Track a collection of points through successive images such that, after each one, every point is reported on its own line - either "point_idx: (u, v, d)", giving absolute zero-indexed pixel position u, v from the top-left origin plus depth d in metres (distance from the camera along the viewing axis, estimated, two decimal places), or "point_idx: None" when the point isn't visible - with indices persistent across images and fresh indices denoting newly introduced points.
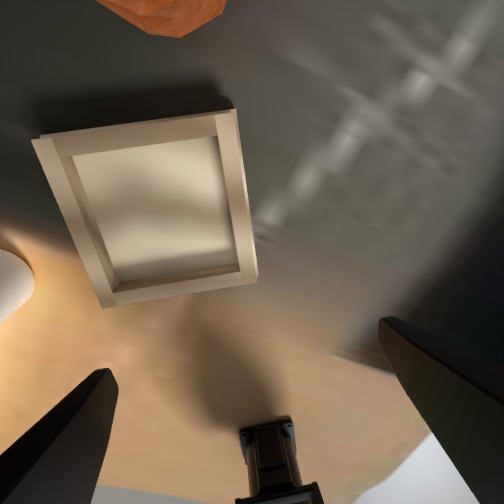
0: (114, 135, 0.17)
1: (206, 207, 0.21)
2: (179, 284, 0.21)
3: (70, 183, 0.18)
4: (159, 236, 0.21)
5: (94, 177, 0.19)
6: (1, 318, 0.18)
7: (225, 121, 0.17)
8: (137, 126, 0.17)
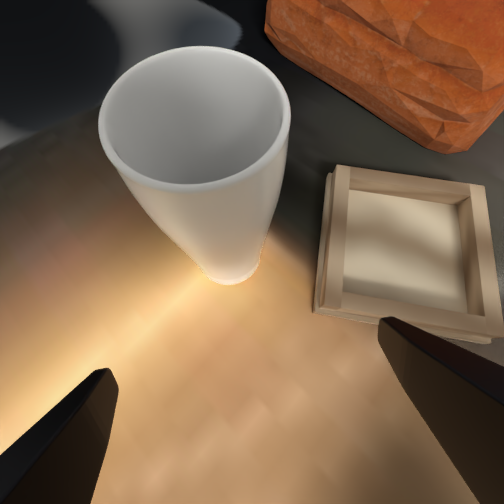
0: (393, 176, 0.23)
1: (440, 253, 0.22)
2: (414, 307, 0.19)
3: None
4: (390, 264, 0.22)
5: (354, 205, 0.24)
6: (255, 259, 0.18)
7: (477, 189, 0.23)
8: (411, 176, 0.23)
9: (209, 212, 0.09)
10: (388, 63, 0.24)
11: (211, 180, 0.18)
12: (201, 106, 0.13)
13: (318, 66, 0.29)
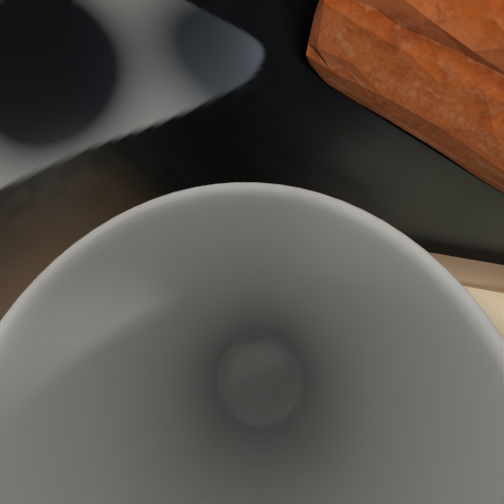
0: (484, 267, 0.17)
1: None
2: None
3: None
4: None
5: None
6: None
7: None
8: None
9: None
10: (496, 106, 0.17)
11: (235, 313, 0.11)
12: (221, 257, 0.06)
13: (381, 101, 0.22)
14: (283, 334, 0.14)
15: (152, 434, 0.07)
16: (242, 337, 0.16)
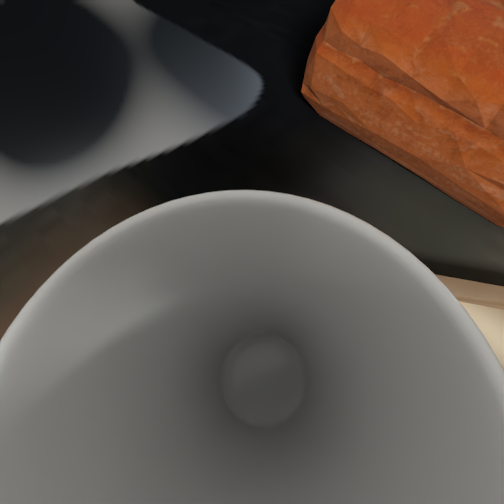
0: (447, 281, 0.20)
1: None
2: None
3: None
4: None
5: None
6: None
7: None
8: (468, 281, 0.20)
9: None
10: (465, 144, 0.20)
11: (235, 314, 0.11)
12: (219, 261, 0.07)
13: (369, 134, 0.25)
14: (284, 334, 0.14)
15: (156, 434, 0.08)
16: (244, 338, 0.16)
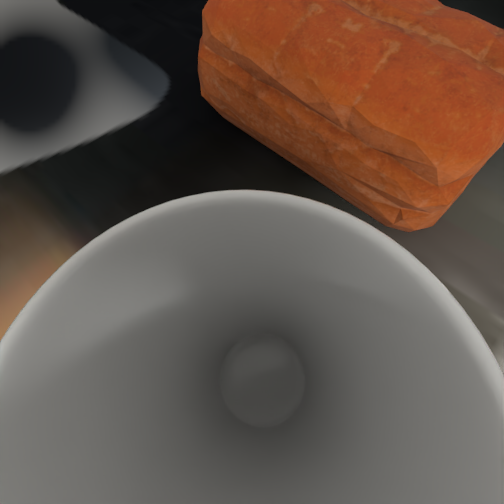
0: None
1: None
2: None
3: None
4: None
5: None
6: None
7: None
8: None
9: None
10: (332, 146, 0.20)
11: (235, 314, 0.11)
12: (218, 260, 0.07)
13: (261, 137, 0.25)
14: (283, 334, 0.14)
15: (156, 434, 0.08)
16: (243, 338, 0.16)
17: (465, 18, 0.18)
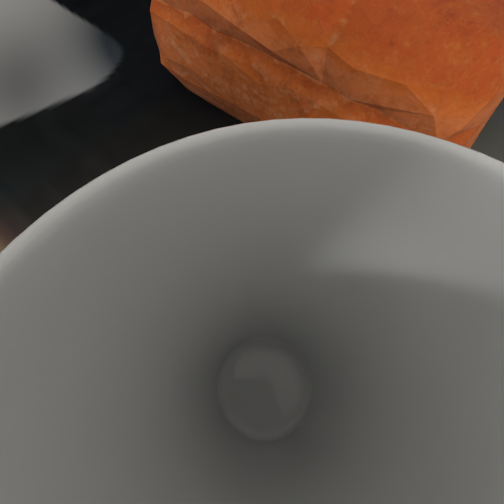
0: None
1: None
2: None
3: None
4: None
5: None
6: None
7: None
8: None
9: None
10: (307, 104, 0.17)
11: (243, 314, 0.10)
12: (248, 239, 0.05)
13: (229, 106, 0.22)
14: (290, 338, 0.13)
15: (156, 461, 0.06)
16: (244, 342, 0.14)
17: None
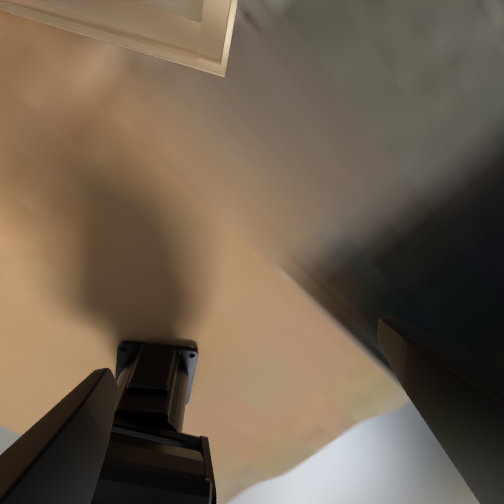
0: None
1: None
2: None
3: None
4: None
5: None
6: None
7: None
8: None
9: None
10: None
11: None
12: None
13: None
14: None
15: None
16: None
17: None
